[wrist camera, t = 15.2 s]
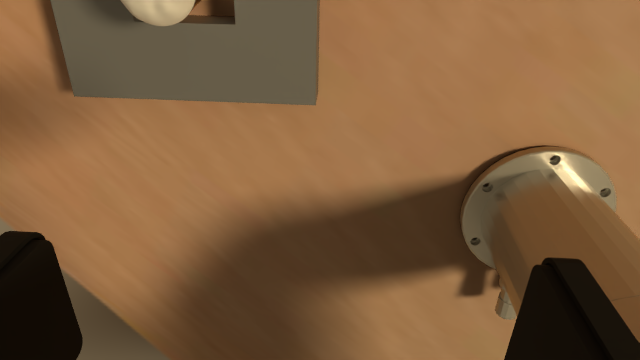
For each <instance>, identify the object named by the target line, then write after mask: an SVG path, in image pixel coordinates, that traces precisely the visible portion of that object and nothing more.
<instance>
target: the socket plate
mask: <svg viewBox="0 0 640 360" xmlns="http://www.w3.org/2000/svg"><path fill="white" fill-rule="evenodd" d="M50 1H51V5H52V9H53V13H54V17H55V21H56V25H57V29H58V33H59V37H60V41H61V45H62V49H63V53H64V57H65V61H66V65H67V69H68V73H69V77H70V82H71V86H72V90H73V94H74V96H80V97H107V98H134V99H161V100H188V101H215V102H242V103H269V104H296V105H316V100H317V95H318V63H319V5H320V0H234V9H235V17H230V16H196V15H188V16H187V17H186V18H185V19H183V20H182V21H180V22H179V23H176V24H173V25H169V26H155V25H151V24H148V23H145V22H143V21H141V20H139V19H137V18H136V17H135V16H133V15H132V14H131V13H130V12H129V10H128V9H127V8H126V7H125V5H124V4H123V3H122V2H121V0H50Z"/></svg>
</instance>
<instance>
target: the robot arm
mask: <svg viewBox="0 0 640 360" xmlns="http://www.w3.org/2000/svg"><path fill="white" fill-rule="evenodd" d="M552 156H553V157H552ZM486 183H487V184H486ZM484 184H485V185H484ZM616 202H617V196H616V192H615V187H614V184H613V183H612V181H611V179H610V177H609V175H608V174H607V173H606V172H605V171H604V170H603V168H602V167H601V166H600V165H599V164H597V163H596V162H595V161H594V160H593V159H591V158H590V157H588V156H586V155H584V154H583V153H581V152H579V151H575V150H572V149H568V148H564V147H552V146H547V147H535V148H530V149H526V150H522V151H518V152H516V153H514V154H511V155H509V156H507V157H504V158H503V159H501V160H499V161H498V162H496V163H494V164H493V165H491V166H490V167H489V168H488V169H486V170H485V171H484V172H483V173H482V174H481V175H480V176H479V177H478V178H477V179H476V180H475V182H474V183H473V184H472V185H471V187H470V189H469V190H468V192H467V194H466V196H465V198H464V201H463V204H462V207H461V215H460V223H461V230H462V233H463V236H464V239H465V242H466V244H467V245H468V247H469V249H470V251H471V252H472V253H473V254H474V255H475V256H476V257H477V258H478V259H479V260H480V261H482V262H483V263H484V264H486V265H487V266H489V267H492V268H494V269H496V270H497V271H498V273H499V276H500V279H499V285H500V286H501V288H502V289H501V292H500V294H499V296H498V300H497V304H496V307H495V311H496V313H497V314H498V315H499V316H500V317H502V318H504V319H509V320H511V319H515V318H516V316H517V319H516V323H515V326H514V329H513V332H512V336H511V339H510V342H509V346H508V349H507V352H506V355H505V359H504V360H640V239H639V238H638V237H637V236H636V235H635V234H634V233H633V232H632V231H631V229H630V228H629V227H628V226H627V225H626V224H625V223H624V222H623V221H622V220H621V219H620V217H619V216H618V215H617V214H616V213H615V212H616ZM81 348H82V334H81V332H80V328H79V325H78V322H77V319H76V316H75V313H74V310H73V307H72V304H71V300H70V297H69V294H68V291H67V288H66V285H65V282H64V279H63V276H62V272H61V269H60V266H59V263H58V260H57V257H56V254H55V251H54V248H53V245H52V243H51V242H50V241H47V240H45V238H44V236H43V235H42V234H41V233H37V232H18V231H9V232H5V233H3V234H2V235H1V236H0V360H76V359H77V357H78V355H79V353H80V351H81Z"/></svg>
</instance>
